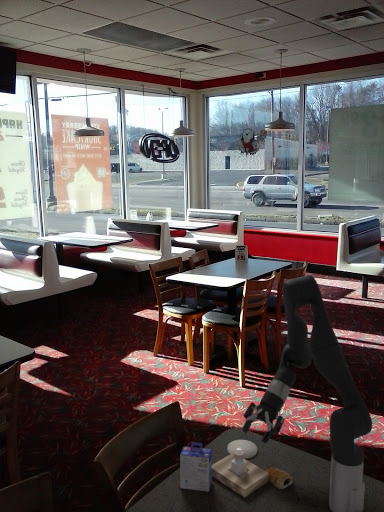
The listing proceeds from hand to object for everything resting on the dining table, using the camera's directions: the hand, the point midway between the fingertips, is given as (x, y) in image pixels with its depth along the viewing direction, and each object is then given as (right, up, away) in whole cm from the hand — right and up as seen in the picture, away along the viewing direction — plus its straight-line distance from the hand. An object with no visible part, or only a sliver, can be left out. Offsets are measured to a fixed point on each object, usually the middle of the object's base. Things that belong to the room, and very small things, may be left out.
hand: (253, 437), depth 169 cm
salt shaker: (-5, -13, -3) cm, 14 cm away
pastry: (+8, -14, -4) cm, 16 cm away
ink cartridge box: (-20, -14, -6) cm, 25 cm away
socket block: (-5, -13, -3) cm, 14 cm away
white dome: (-3, -10, +13) cm, 17 cm away
